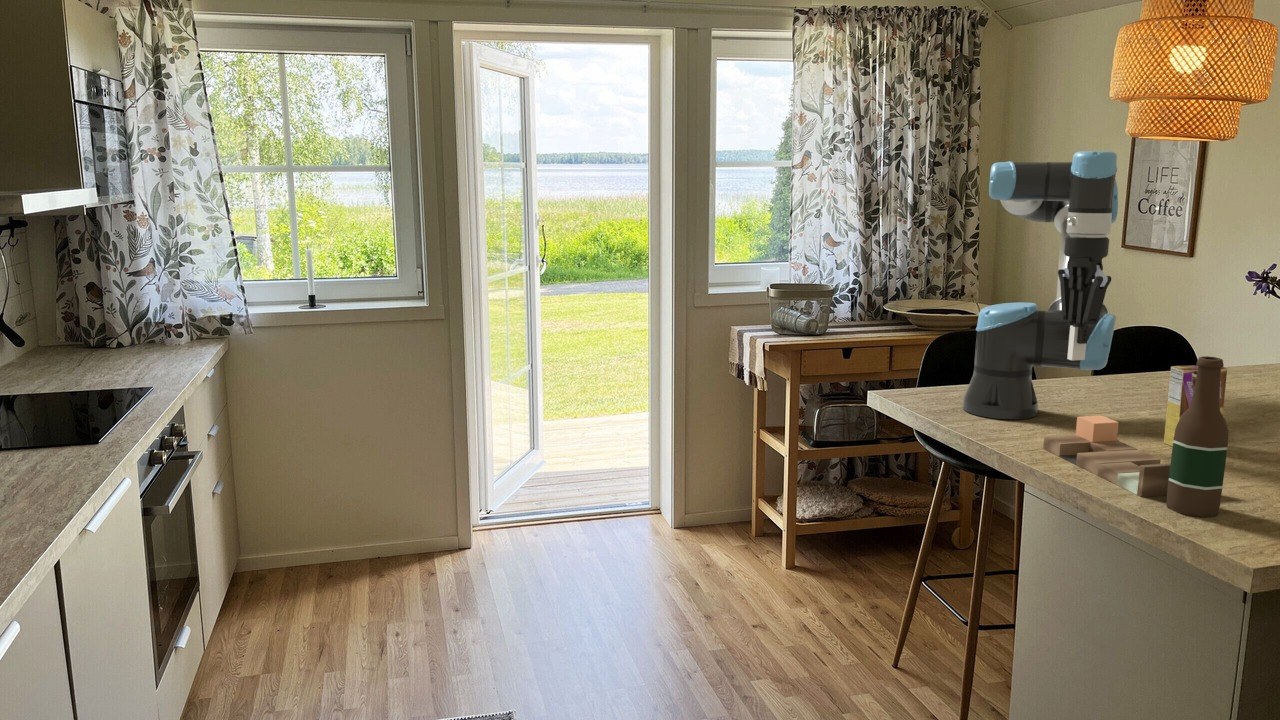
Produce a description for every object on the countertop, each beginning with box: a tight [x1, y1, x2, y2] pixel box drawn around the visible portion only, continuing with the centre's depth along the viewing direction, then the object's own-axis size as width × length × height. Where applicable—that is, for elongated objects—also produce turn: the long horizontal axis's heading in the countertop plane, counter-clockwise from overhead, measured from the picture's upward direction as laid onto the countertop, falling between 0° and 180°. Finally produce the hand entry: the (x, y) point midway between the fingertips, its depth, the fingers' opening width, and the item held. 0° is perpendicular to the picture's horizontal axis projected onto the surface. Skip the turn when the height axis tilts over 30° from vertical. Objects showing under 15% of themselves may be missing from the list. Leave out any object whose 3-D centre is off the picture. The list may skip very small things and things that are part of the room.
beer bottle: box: [1166, 356, 1229, 518], centre depth 149 cm, size 8×8×24 cm
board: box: [1043, 434, 1171, 498], centre depth 170 cm, size 27×12×5 cm, turn 11°
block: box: [1075, 415, 1119, 442], centre depth 181 cm, size 5×5×4 cm
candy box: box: [1163, 364, 1228, 448], centre depth 184 cm, size 9×4×15 cm, turn 96°
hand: (1075, 359), depth 186 cm, fingers closed
